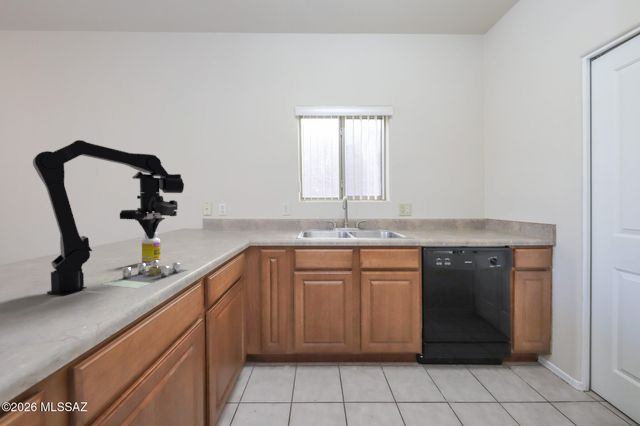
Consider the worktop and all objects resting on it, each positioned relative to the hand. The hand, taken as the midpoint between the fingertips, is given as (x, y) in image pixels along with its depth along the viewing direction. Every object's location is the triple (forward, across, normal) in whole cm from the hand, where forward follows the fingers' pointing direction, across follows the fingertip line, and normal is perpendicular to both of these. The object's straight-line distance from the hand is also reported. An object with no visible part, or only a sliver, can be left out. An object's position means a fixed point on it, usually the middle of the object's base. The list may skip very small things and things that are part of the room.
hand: (150, 238), depth 101 cm
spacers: (+13, +1, 0) cm, 13 cm away
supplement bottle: (+14, +16, +16) cm, 26 cm away
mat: (+13, -1, 0) cm, 13 cm away
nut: (+13, +2, 0) cm, 13 cm away
